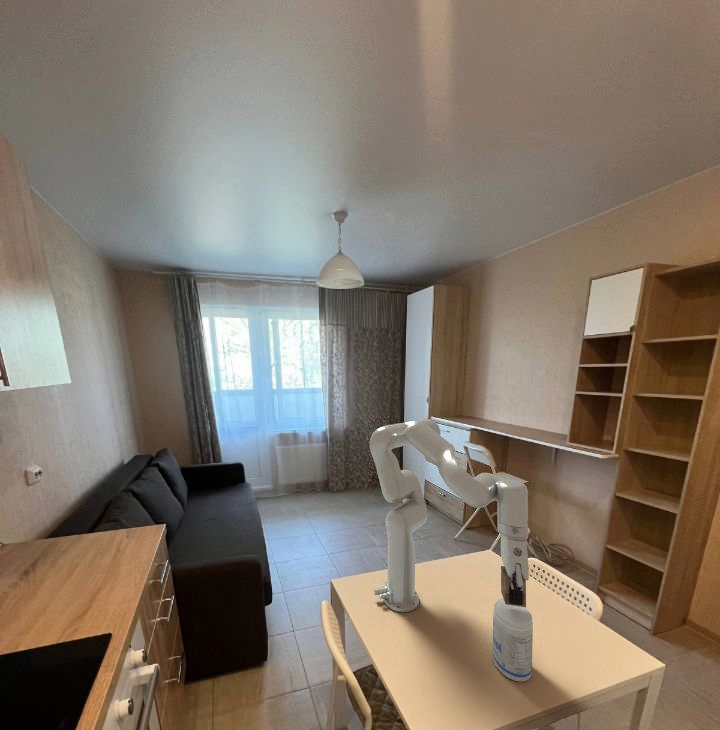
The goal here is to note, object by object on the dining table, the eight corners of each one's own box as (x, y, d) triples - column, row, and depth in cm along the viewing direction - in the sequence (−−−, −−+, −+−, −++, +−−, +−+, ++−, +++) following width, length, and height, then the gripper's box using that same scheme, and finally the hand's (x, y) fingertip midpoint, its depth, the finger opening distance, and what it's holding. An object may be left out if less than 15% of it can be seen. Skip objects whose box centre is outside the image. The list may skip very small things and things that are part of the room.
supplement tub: (486, 651, 86) (486, 598, 87) (517, 649, 87) (517, 596, 88) (505, 686, 77) (506, 625, 77) (541, 683, 78) (541, 623, 78)
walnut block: (526, 607, 80) (525, 579, 80) (505, 604, 81) (505, 577, 81) (520, 594, 85) (520, 568, 85) (501, 591, 86) (500, 565, 86)
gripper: (538, 546, 74) (539, 623, 74) (518, 515, 91) (518, 578, 90) (505, 542, 76) (505, 617, 75) (491, 512, 93) (491, 574, 92)
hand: (512, 595), depth 83 cm, fingers closed on walnut block, 5 cm apart
